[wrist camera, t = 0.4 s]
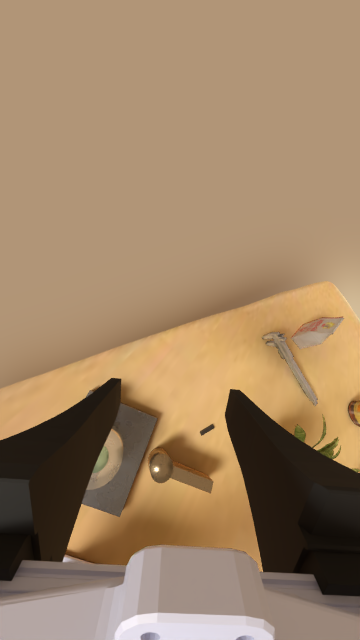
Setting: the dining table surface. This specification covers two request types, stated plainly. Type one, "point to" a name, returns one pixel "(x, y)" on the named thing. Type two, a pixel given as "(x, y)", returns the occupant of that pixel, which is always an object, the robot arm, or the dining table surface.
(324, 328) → the paper snack bag
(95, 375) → the dining table surface
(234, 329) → the dining table surface
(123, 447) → the levelling base
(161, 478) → the ball-topped bar
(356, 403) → the sauce bottle
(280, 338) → the caliper
